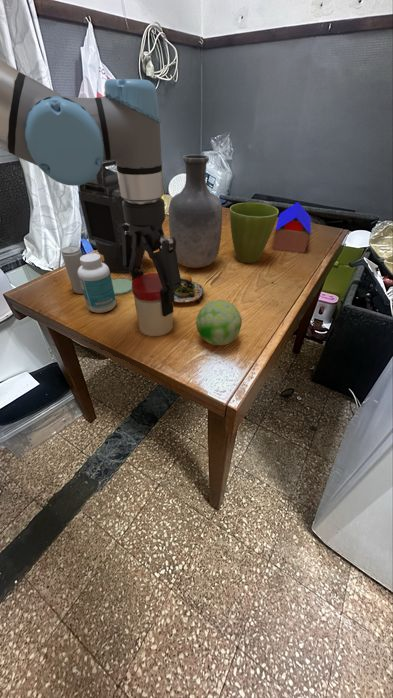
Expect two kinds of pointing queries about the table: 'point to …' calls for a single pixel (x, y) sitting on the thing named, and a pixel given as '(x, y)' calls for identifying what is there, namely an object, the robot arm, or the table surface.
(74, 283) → the beverage can
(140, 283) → the jar lid
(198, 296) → the plate of food
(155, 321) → the jar
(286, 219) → the house
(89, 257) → the pill bottle
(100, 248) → the lantern
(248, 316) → the table surface
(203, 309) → the decorative ball
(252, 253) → the flower pot
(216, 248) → the vase
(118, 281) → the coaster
